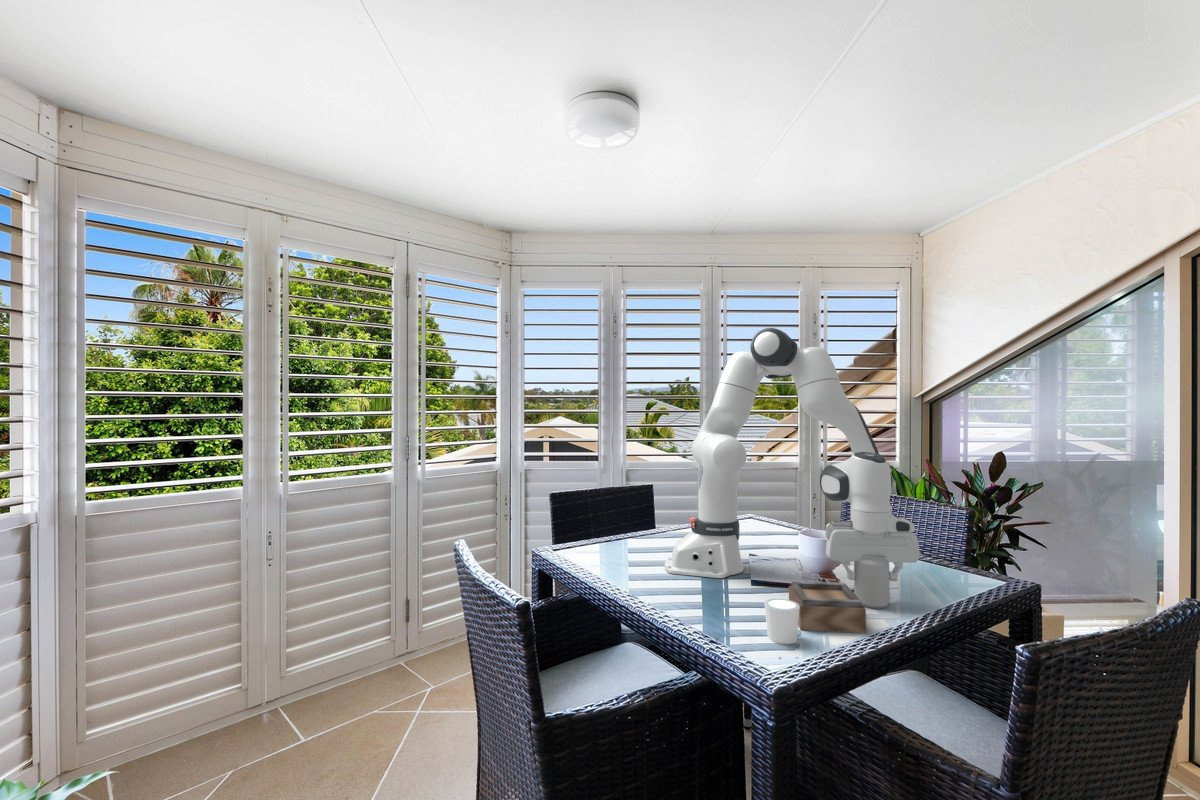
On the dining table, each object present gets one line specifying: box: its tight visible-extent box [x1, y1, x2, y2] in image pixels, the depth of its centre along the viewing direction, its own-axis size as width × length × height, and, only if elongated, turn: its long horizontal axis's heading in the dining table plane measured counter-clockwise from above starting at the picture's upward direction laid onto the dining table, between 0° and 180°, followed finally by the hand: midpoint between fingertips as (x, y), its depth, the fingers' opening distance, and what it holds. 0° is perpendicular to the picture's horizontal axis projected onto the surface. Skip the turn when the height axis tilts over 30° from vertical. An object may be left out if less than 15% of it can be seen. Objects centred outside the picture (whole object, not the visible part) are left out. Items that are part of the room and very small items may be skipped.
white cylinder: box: [764, 598, 800, 645], centre depth 114 cm, size 7×7×7 cm
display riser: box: [788, 581, 867, 634], centre depth 123 cm, size 13×13×6 cm
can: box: [853, 556, 891, 610], centre depth 132 cm, size 8×8×12 cm
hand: (872, 579), depth 132 cm, fingers open, 8 cm apart
